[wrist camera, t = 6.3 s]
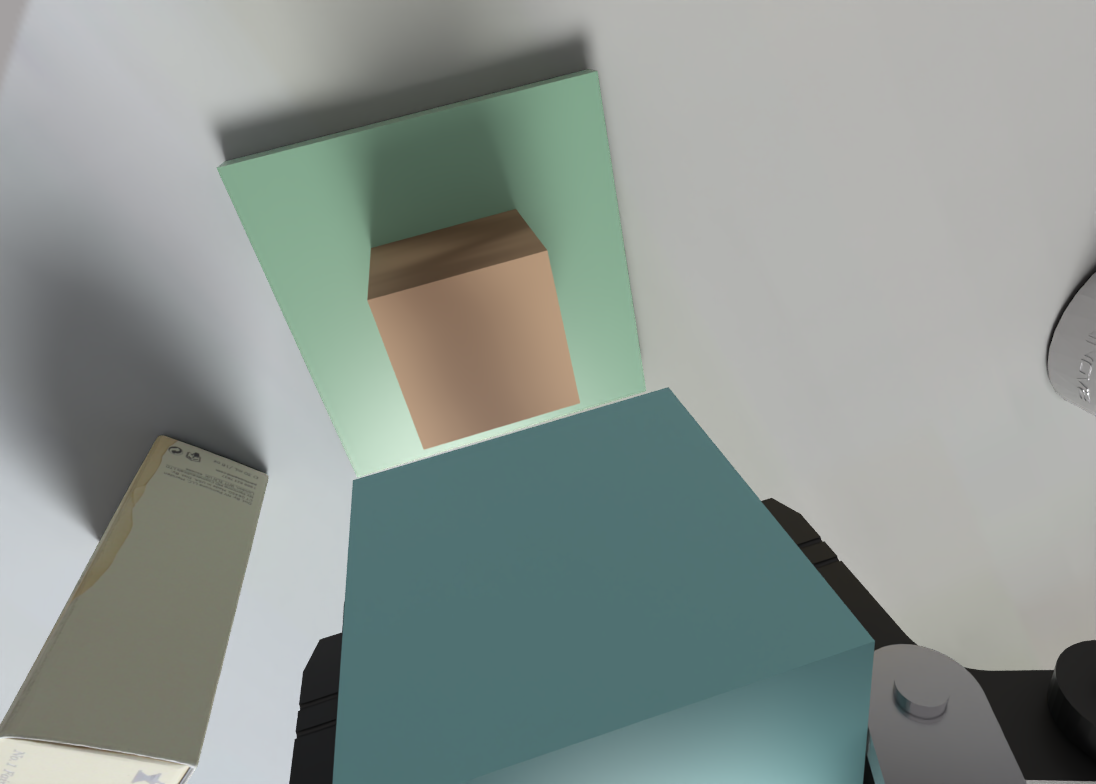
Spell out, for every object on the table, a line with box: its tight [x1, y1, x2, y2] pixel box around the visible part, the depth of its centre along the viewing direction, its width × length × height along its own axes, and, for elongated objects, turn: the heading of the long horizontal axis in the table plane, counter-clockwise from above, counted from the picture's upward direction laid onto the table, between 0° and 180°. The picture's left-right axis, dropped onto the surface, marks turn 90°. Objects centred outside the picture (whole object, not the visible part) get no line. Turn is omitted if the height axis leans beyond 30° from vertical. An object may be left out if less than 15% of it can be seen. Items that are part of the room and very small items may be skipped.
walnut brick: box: [367, 209, 580, 450], centre depth 21 cm, size 5×5×5 cm
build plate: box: [217, 69, 646, 478], centre depth 24 cm, size 12×12×1 cm
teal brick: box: [332, 387, 875, 784], centre depth 9 cm, size 5×5×5 cm
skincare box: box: [0, 435, 268, 784], centre depth 21 cm, size 6×4×12 cm
